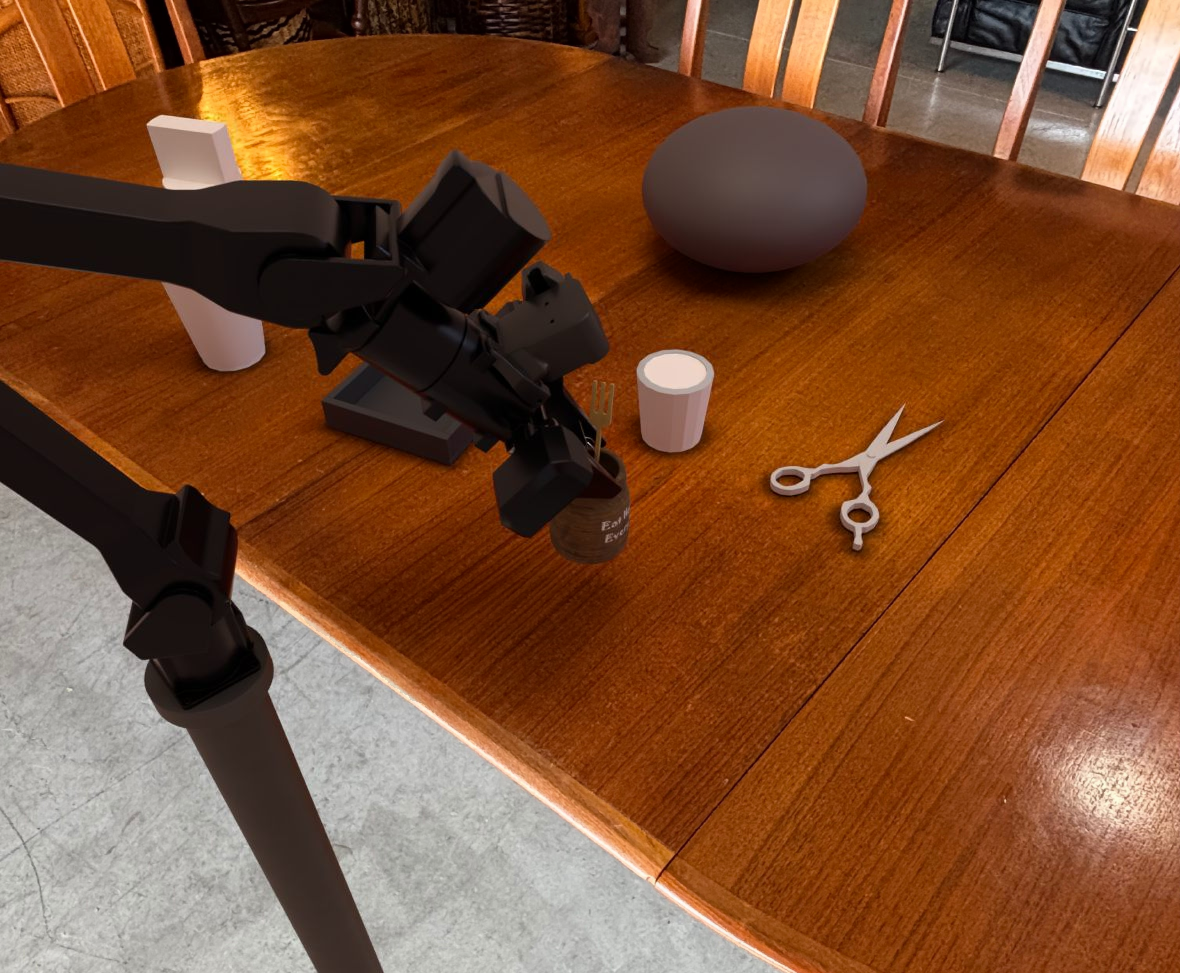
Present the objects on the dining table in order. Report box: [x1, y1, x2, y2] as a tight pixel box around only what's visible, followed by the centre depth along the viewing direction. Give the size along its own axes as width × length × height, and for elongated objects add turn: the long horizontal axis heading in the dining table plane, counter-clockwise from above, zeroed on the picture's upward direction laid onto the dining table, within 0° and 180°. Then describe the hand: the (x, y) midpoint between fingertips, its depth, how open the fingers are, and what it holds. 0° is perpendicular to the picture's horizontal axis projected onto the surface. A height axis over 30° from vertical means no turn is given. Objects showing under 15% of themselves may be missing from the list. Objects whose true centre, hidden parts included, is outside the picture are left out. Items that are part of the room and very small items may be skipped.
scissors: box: [769, 402, 945, 551], centre depth 88 cm, size 11×1×20 cm
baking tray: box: [320, 361, 473, 466], centre depth 95 cm, size 16×14×3 cm
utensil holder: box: [548, 379, 631, 566], centre depth 70 cm, size 6×6×12 cm
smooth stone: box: [641, 105, 868, 274], centre depth 109 cm, size 25×25×15 cm
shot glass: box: [636, 348, 715, 453], centre depth 89 cm, size 7×7×7 cm
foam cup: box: [161, 282, 266, 372], centre depth 97 cm, size 10×9×13 cm
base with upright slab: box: [146, 114, 244, 190], centre depth 116 cm, size 9×9×12 cm
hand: (609, 469), depth 69 cm, fingers closed on utensil holder, 5 cm apart
